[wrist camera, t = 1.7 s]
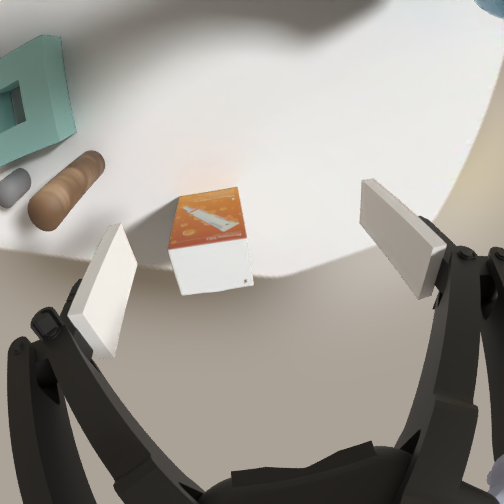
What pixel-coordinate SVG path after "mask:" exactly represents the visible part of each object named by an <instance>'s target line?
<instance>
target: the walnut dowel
mask: <svg viewBox="0 0 504 504" xmlns="http://www.w3.org/2000/svg"><path fill="white" fill-rule="evenodd" d="M104 169H105V162H104V159H103V157H102V155H101V154H100V153H98V152H96V151H92V150H91V151H86V152H85V153H83V154H82V155H81V156H80V157H78V158H77V159H76V160H74V161H73V162H72V163H71V164H70V165H68V166H67V167H66V168H65V169H63V170H62V171H61V172H60V173H59V174H58V175H56V176H55V177H54V178H53V179H52V180H51V181H49V182H48V183H47V184H46V185H45V186H44V187H43V188H42V189H41V190H40V191H38V192H37V193H36V194H35V195H34V196H33V197H32V198H31V199H30V201H29V204H28V214H29V217H30V219H31V221H32V222H33V224H34V225H35V226H36V227H37V228H39V229H41V230H43V231H53V230H55V229H56V228H57V227H58V226H59V225H60V223H61V222H62V221H63V219H64V218H65V217H66V216H67V214H68V213H69V212H70V211H71V209H72V208H73V207H74V206H75V204H76V203H77V202H78V201H79V200H80V198H81V197H82V196H83V195H84V194H85V192H86V191H87V190H88V189H89V188H90V187H91V185H92V184H93V183H94V182H95V181H96V180H97V179H98V178H99V177H100V175H101V174H102V173H103V171H104Z"/></svg>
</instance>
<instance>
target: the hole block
mask: <svg viewBox="0 0 504 504" xmlns="http://www.w3.org/2000/svg"><path fill="white" fill-rule="evenodd" d="M18 86H20V92H21V98H22V103H23V108H24V113H25V118H26V121H24V122H22V123H20V124H18V125H16V121H15V116H14V112H13V107H12V101H11V96H10V91H11V90H13V89H15V88H16V87H18ZM74 133H76V128H75V123H74V119H73V114H72V109H71V104H70V99H69V94H68V88H67V83H66V76H65V70H64V63H63V55H62V47H61V37H58V36H49V35H40V36H38V37H37V38H35V39H33V40H31V41H29V42H27V43H26V44H24V45H22V46H20V47H19V48H17V49H15V50H14V51H12V52H10V53H9V54H7V55H5V56H4V57H2V58H1V59H0V167H1V166H3V165H5V164H7V163H9V162H11V161H14V160H16V159H18V158H20V157H23V156H25V155H27V154H30V153H32V152H35V151H37V150H40V149H42V148H45V147H47V146H50V145H53V144H55V143H58V142H60V141H62V140H64V139H66V138H67V137H69V136H71V135H72V134H74Z"/></svg>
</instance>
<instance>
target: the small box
mask: <svg viewBox="0 0 504 504" xmlns="http://www.w3.org/2000/svg"><path fill="white" fill-rule="evenodd" d="M168 253H169V257H170V260H171V264H172V267H173V270H174V274H175V277H176V280H177V283H178V287H179V290H180V293H181V295H191V294H199V293H206V292H217V291H223V290H228V289H233V288H240V287H245V286H252V285H254V282H253V275H252V268H251V261H250V253H249V246H248V239H247V233H246V227H245V222H244V217H243V212H242V206H241V201H240V196H239V191H238V188H237V187H234V188H229V189H224V190H218V191H211V192H205V193H199V194H192V195H186V196H180V197H179V201H178V205H177V209H176V213H175V218H174V222H173V226H172V231H171V236H170V241H169V245H168Z"/></svg>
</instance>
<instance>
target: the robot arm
mask: <svg viewBox="0 0 504 504" xmlns="http://www.w3.org/2000/svg"><path fill="white" fill-rule="evenodd" d="M474 1H475V2H476V4H477V5H478V6H479V7H481V8H482V9H483V10H485V11H487V12H488V13H490V14H491V15H494V16H496V17H499V18H502V19H504V0H474ZM360 224H361V226H362V227H363V228H364V229H365V230H366V232H367V233H368V234H369V235H370V237H371V238H372V239H373V240H374V242H375V243H376V244H377V245H378V247H379V248H380V249H381V250H382V252H383V253H384V254H385V256H386V257H387V258H388V260H389V261H390V262H391V263H392V265H393V266H394V267H395V269H396V270H397V271H398V273H399V274H400V275H401V277H402V278H403V280H404V281H405V282H406V284H407V285H408V286H409V288H410V289H411V291H412V292H413V293H414V295H415V296H416V298H417V299H418V300H419V299H422V298H425V297H428V296H431V295H432V292H433V289H434V286H436V287H437V289H438V290H439V293H438V295H437V298H436V301H435V304H434V306H433V309H435V313H434V319H433V325H432V330H431V335H430V340H429V344H428V349H427V353H426V358H425V362H424V366H423V370H422V374H421V377H420V381H419V385H418V388H417V392H416V395H415V398H414V401H413V405H412V408H411V411H410V414H409V417H408V419H407V422H406V425H405V428H404V430H403V432H402V434H401V435H400V437H399V439H398V441H397V443H396V445H395V447H394V448H393V447H386V446H373V444H372V441H369V442H366V443H363V444H360V445H357V446H353V447H350V448H347V449H344V450H340V451H338V452H336V453H334V454H332V455H330V456H328V457H327V458H325V459H323V460H321V461H319V462H317V463H315V464H313V465H311V466H309V467H306V468H274V467H263V468H257V469H248V470H241V471H231V478H229V479H226V480H224V481H222V482H219V483H218V484H216V485H214V486H213V487H211V488H210V489H209V490H207V491H206V492H205V491H204V490H203V489H201V488H200V487H199V486H198V485H197V484H196V483H195V482H193V481H192V480H191V479H189V478H188V477H187V476H186V475H185V474H184V473H183V472H181V470H180V469H179V468H178V467H177V466H175V464H174V463H173V462H172V461H171V460H170V459H169V458H168V457H167V456H166V455H165V454H164V453H163V451H162V450H161V449H160V448H159V447H158V446H157V445H156V444H155V442H154V441H153V440H152V439H151V438H150V437H149V435H148V434H147V433H146V432H145V431H144V429H143V428H142V427H141V426H140V425H139V423H138V422H137V421H136V420H135V418H134V417H133V416H132V415H131V413H130V412H129V411H128V410H127V408H126V407H125V406H124V404H123V403H122V401H121V400H120V399H119V397H118V396H117V394H116V393H115V392H114V390H113V389H112V387H111V386H110V385H109V383H108V382H107V380H106V379H105V377H104V376H103V374H102V373H101V371H100V370H99V368H98V367H97V365H96V364H95V362H94V361H93V360H92V354H93V351H94V353H95V354H96V355H97V356H98V358H99V359H110V358H114V357H115V353H116V348H117V343H118V339H119V334H120V330H121V325H122V321H123V317H124V313H125V309H126V305H127V301H128V297H129V293H130V289H131V285H132V282H133V279H134V275H135V271H136V268H137V265H138V263H137V261H136V259H135V256H134V254H133V252H132V249H131V247H130V244H129V242H128V239H127V237H126V234H125V232H124V229H123V227H122V224H121V223H120V224H116V225H112V226H109V227H108V229H107V231H106V233H105V235H104V236H103V238H102V240H101V242H100V244H99V246H98V248H97V250H96V252H95V254H94V256H93V258H92V260H91V262H90V264H89V267H88V269H87V271H86V273H85V275H84V277H83V279H79V280H78V281H77V282H76V283H75V285H74V286H73V287H72V289H71V292H70V294H69V296H68V298H67V302H66V303H65V305H64V307H63V310H62V312H61V314H60V316H59V315H58V314H57V312H56V311H55V309H53V307H46V308H43V309H41V310H40V311H39V312H37V313H36V314H35V316H34V317H33V318H32V321H31V329H32V330H33V331H34V332H35V334H36V335H37V336H38V337H39V339H40V340H38V341H35V342H33V343H31V342H30V341H29V340H28V339H27V338H26V337H23V336H22V337H19V338H17V339H16V340H14V341H13V342H12V344H11V346H10V348H9V350H8V363H7V396H8V416H9V428H10V437H11V445H12V452H13V458H14V464H15V469H16V475H17V480H18V484H19V488H20V493H21V496H22V500H23V504H97V503H96V501H95V499H94V496H93V494H92V491H91V488H90V486H89V484H88V480H87V478H86V475H85V472H84V469H83V466H82V463H81V460H80V457H79V454H78V451H77V447H76V443H75V440H74V437H73V432H72V428H71V425H70V420H69V416H68V412H67V408H66V403H65V398H66V400H67V402H68V403H69V406H70V408H71V410H72V411H73V413H74V415H75V417H76V419H77V421H78V423H79V424H80V426H81V428H82V430H83V431H84V433H85V435H86V437H87V438H88V440H89V442H90V443H91V445H92V447H93V448H94V450H95V451H96V453H97V454H98V456H99V457H100V459H101V461H102V462H103V464H104V465H105V467H106V468H107V469H108V471H109V472H110V474H111V475H112V477H113V478H114V480H115V483H114V485H113V486H114V489H115V491H116V492H117V494H118V496H119V497H120V498H121V500H122V501H123V502H124V503H125V504H504V249H503V248H499V247H492V248H491V249H490V251H489V254H488V256H477V254H476V253H475V252H474V251H473V250H472V249H470V248H468V247H465V246H456V245H455V244H453V242H452V241H451V240H450V239H449V238H448V237H446V236H445V235H444V234H443V233H442V232H441V231H440V230H439V229H438V228H437V227H435V225H434V224H433V223H432V222H430V221H429V220H428V219H426V218H424V217H422V216H417V215H416V214H415V213H413V212H412V211H411V210H410V209H409V208H408V207H407V206H406V205H404V204H403V203H402V202H401V201H400V200H399V199H398V198H396V197H395V196H394V195H393V194H392V193H390V192H389V191H388V190H387V189H386V188H384V187H383V186H382V185H381V184H380V183H378V182H377V181H376V180H375V179H366V180H362V185H361V208H360ZM480 332H481V336H482V341H483V347H484V353H485V359H486V366H487V373H488V381H489V390H490V402H491V419H492V445H493V455H494V461H495V463H494V465H493V467H492V470H491V471H490V472H489V474H488V475H487V483H488V484H489V485H490V489H489V491H488V492H485V491H483V490H481V489H479V488H476V487H474V486H472V485H470V484H468V483H466V482H464V481H462V477H463V474H464V471H465V467H466V464H467V461H468V457H469V454H470V450H471V446H472V442H473V438H474V433H475V428H476V424H477V418H478V407H477V406H476V405H474V404H473V397H474V391H475V384H476V376H477V367H478V356H479V343H480ZM64 396H65V398H64Z"/></svg>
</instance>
